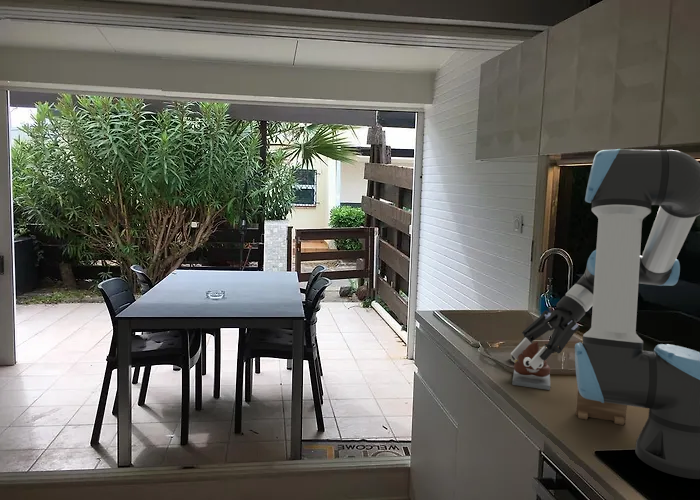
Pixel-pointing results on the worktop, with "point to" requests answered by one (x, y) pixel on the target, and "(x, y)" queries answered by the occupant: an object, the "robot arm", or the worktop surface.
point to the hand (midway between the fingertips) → (522, 361)
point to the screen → (600, 410)
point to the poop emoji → (524, 359)
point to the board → (531, 381)
